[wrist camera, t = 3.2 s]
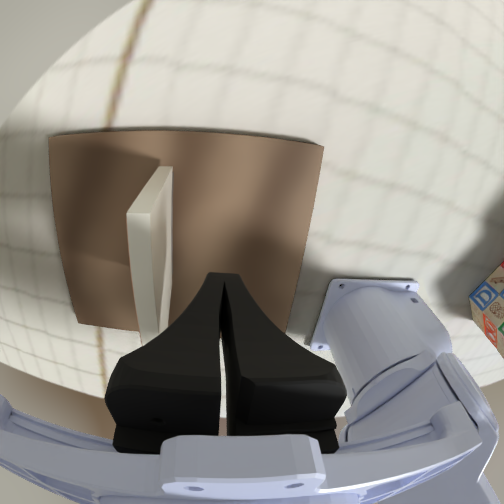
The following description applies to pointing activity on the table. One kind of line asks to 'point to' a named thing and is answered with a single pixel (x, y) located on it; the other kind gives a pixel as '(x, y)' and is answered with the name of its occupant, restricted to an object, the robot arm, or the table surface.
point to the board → (183, 215)
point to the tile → (151, 253)
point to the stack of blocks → (490, 308)
